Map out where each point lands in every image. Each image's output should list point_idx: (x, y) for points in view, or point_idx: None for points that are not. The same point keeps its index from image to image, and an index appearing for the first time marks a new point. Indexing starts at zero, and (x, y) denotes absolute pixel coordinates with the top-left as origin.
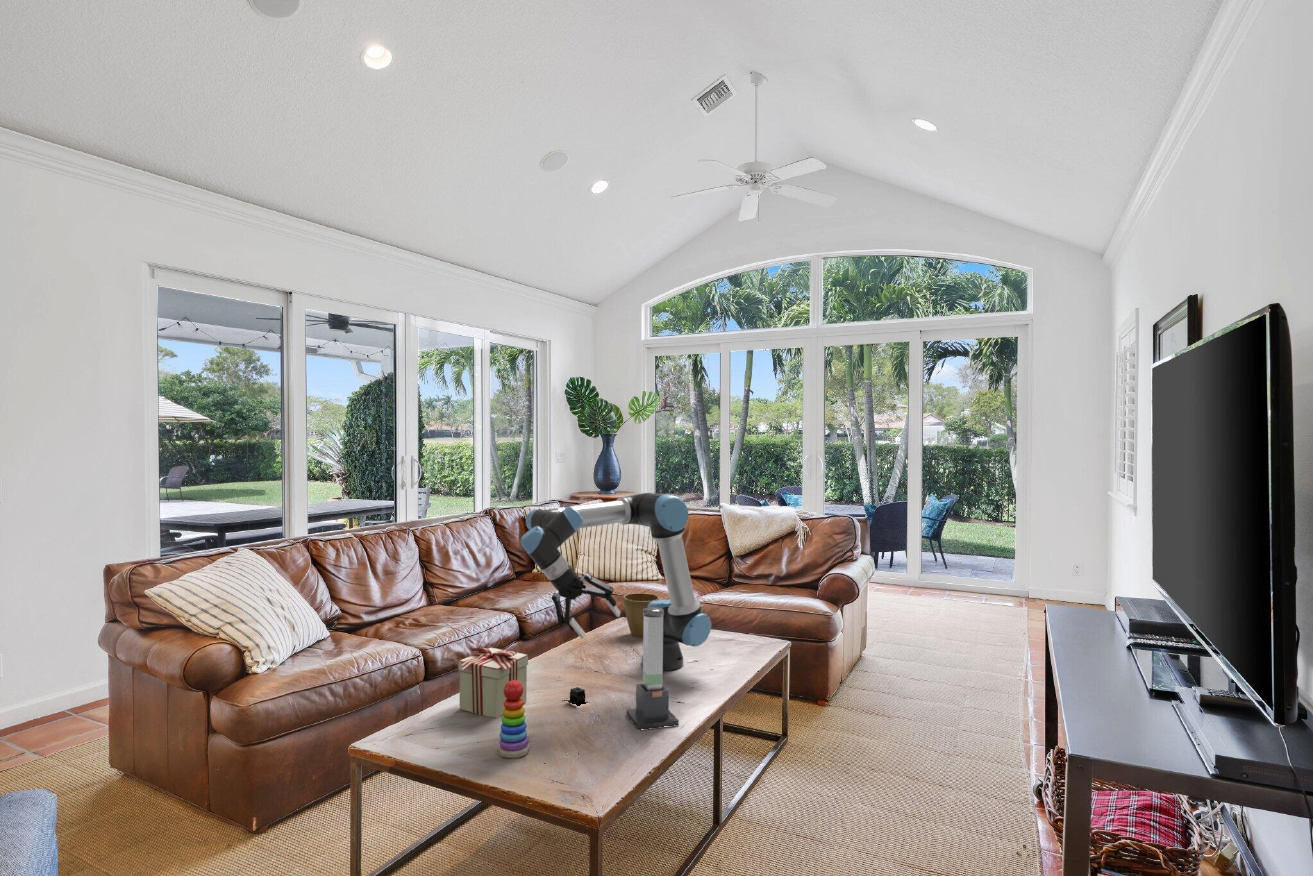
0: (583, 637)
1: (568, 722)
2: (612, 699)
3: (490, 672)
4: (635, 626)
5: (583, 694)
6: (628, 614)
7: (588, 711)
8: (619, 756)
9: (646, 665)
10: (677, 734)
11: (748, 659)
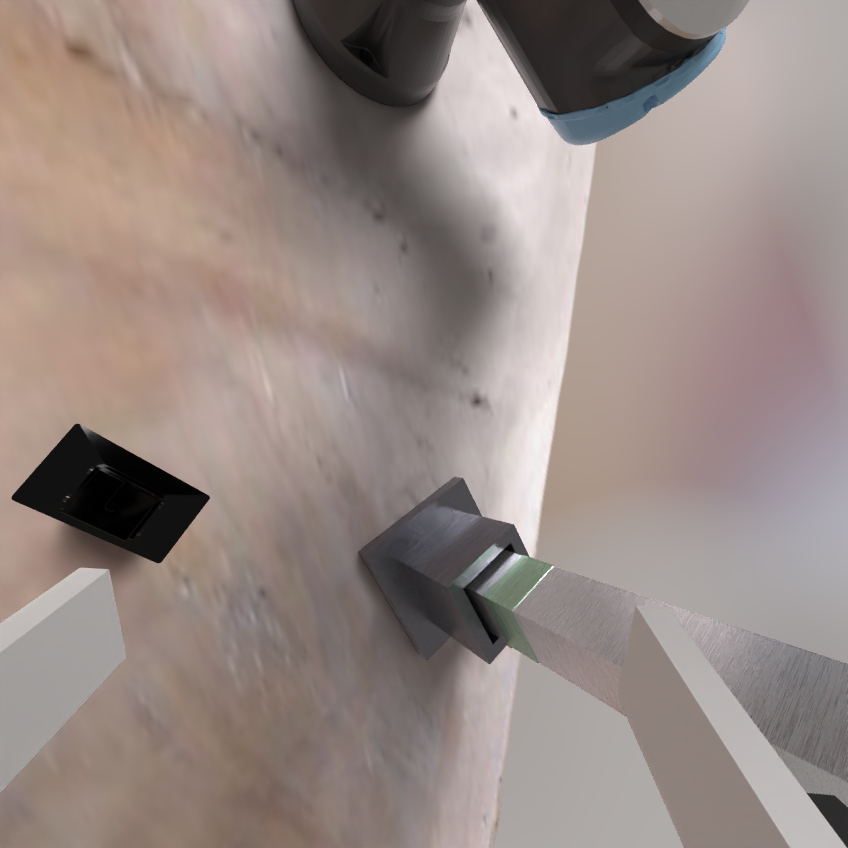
0: (122, 660)
1: (156, 718)
2: (273, 424)
3: None
4: None
5: (155, 509)
6: None
7: (209, 574)
8: (409, 843)
9: (560, 666)
10: None
11: None
